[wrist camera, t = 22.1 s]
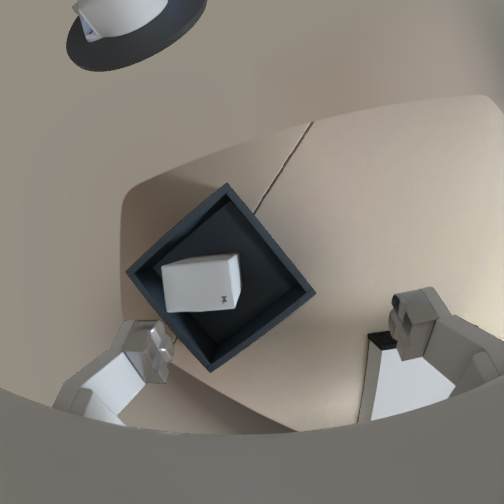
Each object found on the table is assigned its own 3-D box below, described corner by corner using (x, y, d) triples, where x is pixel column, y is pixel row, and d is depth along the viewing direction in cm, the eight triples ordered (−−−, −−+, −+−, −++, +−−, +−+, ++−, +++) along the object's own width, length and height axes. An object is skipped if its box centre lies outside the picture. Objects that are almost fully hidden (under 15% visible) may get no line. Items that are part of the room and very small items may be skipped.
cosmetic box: (239, 250, 35) (231, 258, 23) (243, 285, 35) (236, 310, 23) (190, 255, 35) (159, 265, 23) (194, 289, 35) (166, 315, 23)
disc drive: (460, 318, 36) (478, 325, 31) (434, 428, 37) (446, 441, 32) (368, 332, 36) (382, 345, 31) (350, 450, 37) (357, 468, 32)
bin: (146, 265, 36) (124, 271, 29) (232, 192, 35) (226, 182, 28) (217, 350, 36) (210, 373, 30) (305, 282, 36) (316, 293, 29)
